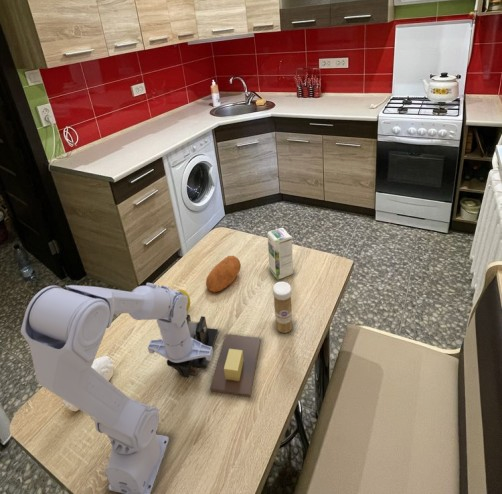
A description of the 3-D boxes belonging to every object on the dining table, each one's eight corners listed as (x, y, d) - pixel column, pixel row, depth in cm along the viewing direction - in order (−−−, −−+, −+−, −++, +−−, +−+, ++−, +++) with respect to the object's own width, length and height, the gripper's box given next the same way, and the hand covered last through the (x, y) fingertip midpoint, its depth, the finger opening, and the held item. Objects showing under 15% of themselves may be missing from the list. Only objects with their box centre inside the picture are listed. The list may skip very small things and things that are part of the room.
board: (250, 397, 75) (249, 394, 75) (210, 391, 77) (210, 388, 77) (260, 340, 88) (260, 337, 87) (226, 336, 89) (226, 334, 89)
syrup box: (268, 269, 111) (265, 232, 105) (284, 263, 113) (282, 226, 107) (277, 280, 106) (275, 242, 100) (294, 273, 108) (292, 236, 102)
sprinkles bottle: (279, 336, 88) (276, 296, 83) (273, 322, 92) (270, 283, 87) (295, 330, 89) (294, 291, 84) (288, 316, 93) (286, 278, 88)
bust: (115, 373, 85) (88, 335, 85) (126, 372, 80) (98, 333, 80) (69, 419, 76) (40, 377, 76) (79, 421, 71) (47, 377, 71)
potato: (247, 274, 110) (245, 259, 106) (217, 301, 102) (214, 285, 98) (231, 262, 114) (229, 247, 110) (201, 287, 106) (198, 272, 102)
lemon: (188, 321, 95) (183, 300, 91) (169, 319, 96) (164, 298, 93) (194, 305, 100) (190, 284, 96) (177, 303, 101) (172, 283, 98)
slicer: (206, 368, 82) (201, 343, 78) (175, 364, 84) (168, 339, 80) (218, 332, 91) (214, 307, 87) (189, 329, 92) (184, 305, 89)
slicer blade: (197, 373, 82) (194, 375, 79) (181, 371, 82) (178, 373, 80) (203, 322, 86) (200, 323, 83) (188, 320, 86) (184, 321, 84)
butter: (239, 381, 78) (237, 370, 76) (225, 379, 78) (223, 368, 77) (243, 360, 82) (242, 350, 81) (230, 358, 83) (229, 348, 81)
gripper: (213, 321, 76) (221, 360, 82) (152, 314, 79) (164, 353, 85) (203, 350, 70) (212, 390, 76) (138, 343, 73) (152, 382, 79)
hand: (186, 373), depth 80 cm, fingers closed, pressing on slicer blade
